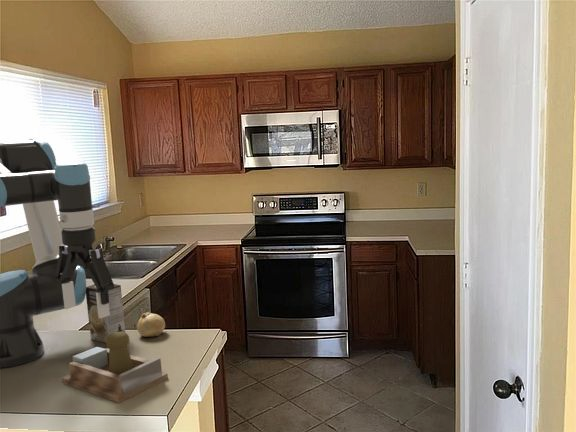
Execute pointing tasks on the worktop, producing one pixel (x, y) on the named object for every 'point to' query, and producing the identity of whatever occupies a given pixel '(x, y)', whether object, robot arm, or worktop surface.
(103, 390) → the rail board
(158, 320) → the onion
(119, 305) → the coffee box
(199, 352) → the worktop surface
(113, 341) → the cork
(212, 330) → the worktop surface
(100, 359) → the block
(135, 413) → the worktop surface
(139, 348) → the worktop surface
